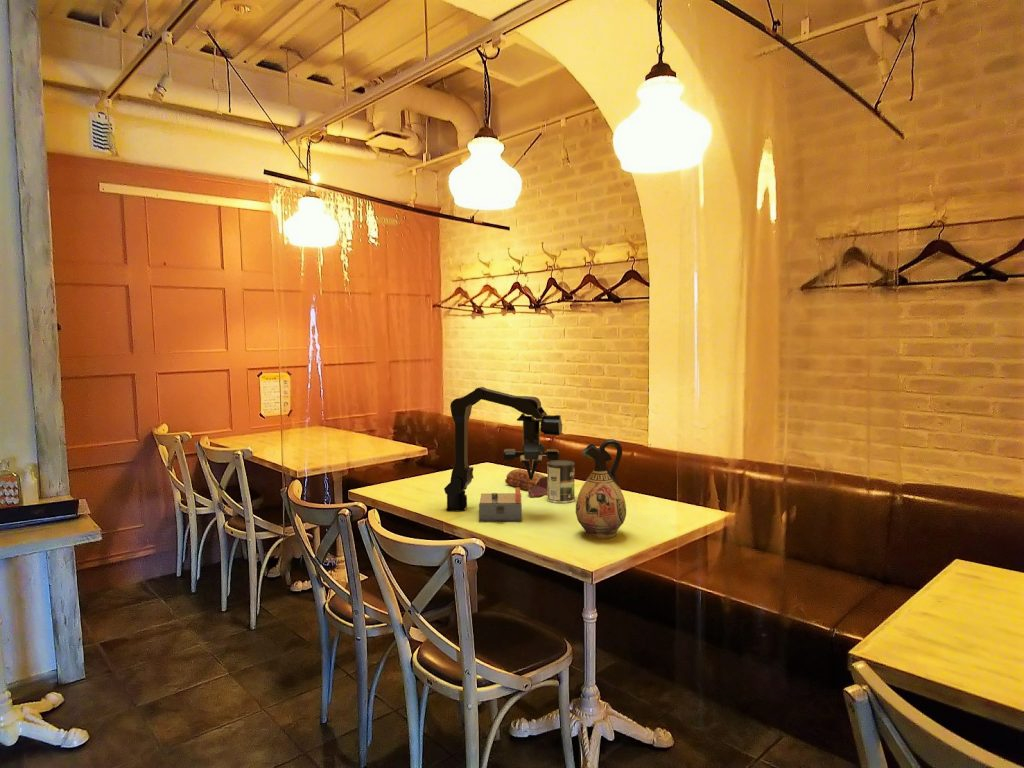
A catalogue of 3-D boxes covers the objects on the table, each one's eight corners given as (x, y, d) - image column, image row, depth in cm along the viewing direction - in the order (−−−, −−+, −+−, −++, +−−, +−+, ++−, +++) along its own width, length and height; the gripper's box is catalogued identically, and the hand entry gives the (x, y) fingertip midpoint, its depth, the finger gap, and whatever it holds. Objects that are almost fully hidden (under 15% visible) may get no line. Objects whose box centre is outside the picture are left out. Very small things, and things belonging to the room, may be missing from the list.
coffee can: (576, 496, 243) (576, 460, 242) (573, 504, 233) (573, 465, 232) (549, 495, 245) (549, 459, 244) (545, 502, 235) (545, 464, 234)
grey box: (478, 524, 209) (478, 506, 208) (481, 508, 228) (481, 491, 227) (521, 523, 209) (521, 505, 208) (521, 508, 228) (521, 491, 227)
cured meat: (534, 499, 240) (534, 481, 240) (496, 487, 260) (496, 470, 260) (570, 493, 251) (571, 476, 250) (531, 482, 271) (531, 466, 270)
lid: (479, 505, 212) (479, 495, 212) (481, 496, 224) (481, 486, 223) (521, 505, 212) (521, 495, 212) (520, 496, 224) (520, 486, 223)
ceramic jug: (576, 542, 190) (577, 442, 188) (574, 527, 205) (574, 434, 203) (634, 543, 189) (635, 442, 187) (627, 527, 204) (628, 434, 202)
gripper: (503, 437, 210) (503, 484, 211) (560, 438, 210) (559, 485, 211) (504, 432, 221) (503, 477, 222) (558, 432, 221) (557, 477, 222)
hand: (530, 479), depth 219 cm, fingers closed
